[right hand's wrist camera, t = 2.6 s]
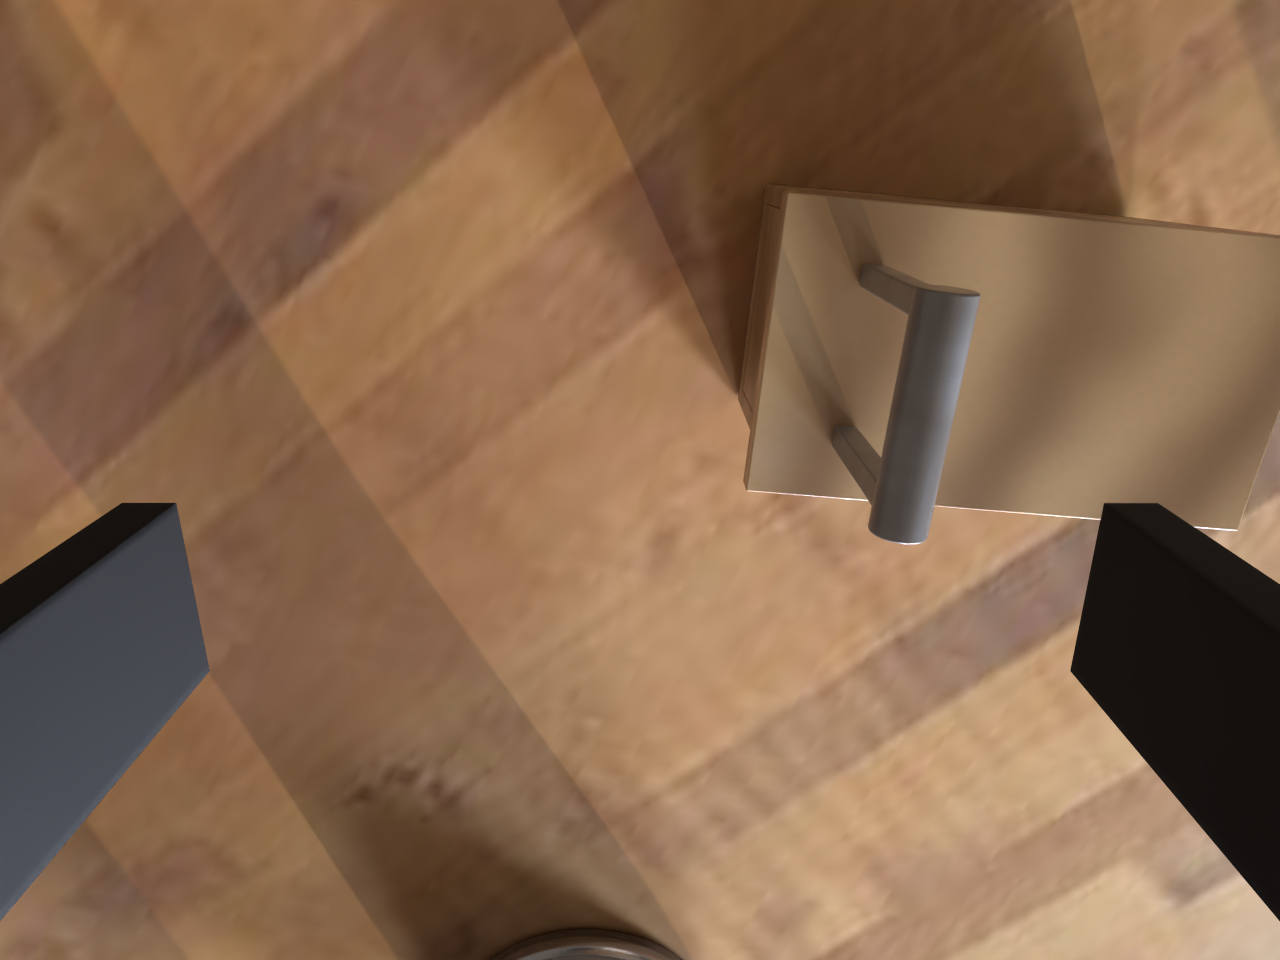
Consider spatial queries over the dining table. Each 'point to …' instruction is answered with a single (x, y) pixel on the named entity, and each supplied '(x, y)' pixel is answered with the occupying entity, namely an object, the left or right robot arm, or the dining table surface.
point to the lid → (1013, 363)
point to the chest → (775, 197)
